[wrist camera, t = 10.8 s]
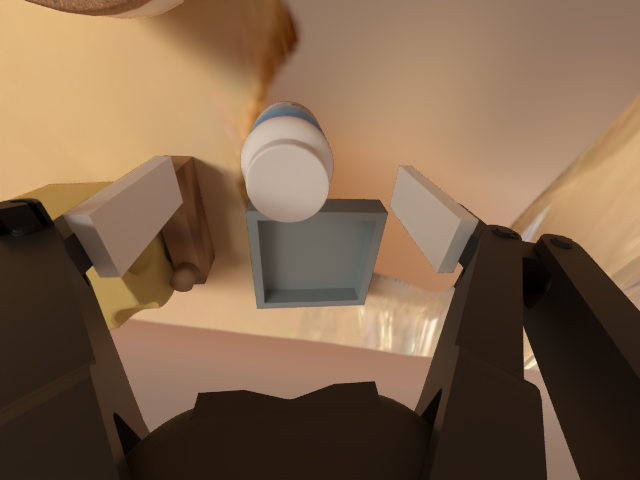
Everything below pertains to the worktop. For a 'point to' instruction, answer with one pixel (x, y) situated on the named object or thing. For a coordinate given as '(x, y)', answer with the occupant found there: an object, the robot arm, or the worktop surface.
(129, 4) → the lidded bowl
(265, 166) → the pill bottle
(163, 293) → the cheese
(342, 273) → the tray
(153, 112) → the worktop surface
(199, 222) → the stop rail
